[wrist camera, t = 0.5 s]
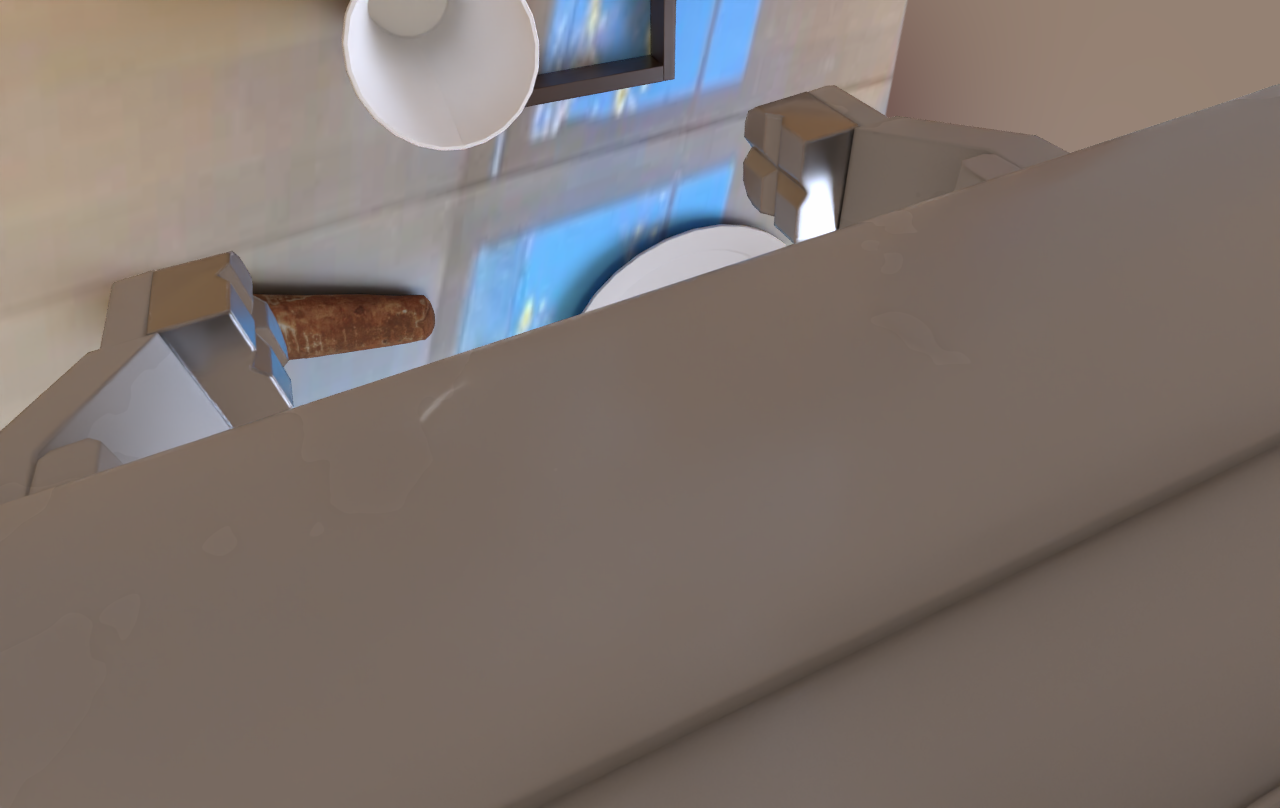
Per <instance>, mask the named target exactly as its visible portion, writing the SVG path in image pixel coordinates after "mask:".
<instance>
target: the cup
mask: <svg viewBox="0 0 1280 808" xmlns="http://www.w3.org/2000/svg"><path fill="white" fill-rule="evenodd" d="M342 48H343V54H344V61H345V67H346V72H347V74H348V76H349V79H350V81H351V83H352V86H353V88H354V90H355V93H356V95H357V97H358V98H359V100H360V101H361V102H362V104H363V105H364V106H365V108H366V109H367V110H368V112H369V113H370V114H371V116H372V117H373V118H374V119H375V120H376V121H377V122H379V123H380V124H381V125H382V126H384V127H385V128H386V129H387V130H388V131H390V132H391V133H392V134H393V135H395V136H397V137H399V138H401V139H403V140H406V141H408V142H410V143H412V144H414V145H416V146H420V147H425V148H430V149H435V150H440V151H441V150H460V149H466V148H469V147H473V146H476V145H479V144H482V143H485V142H487V141H489V140H490V139H492V138H493V137H495V136H496V135H498V134H500V133H501V132H503V131H504V130H506V129H507V127H508V126H509V125H510V124H511V123H512V122H513V121H514V120H515V119H516V118H517V117H518V116H519V115H520V114H521V112H522V110H523V108H524V107H525V105H526V103H527V101H528V99H529V97H530V96H531V94H532V92H533V88H534V84H535V80H536V77H537V73H538V69H539V39H538V35H537V30H536V26H535V21H534V17H533V14H532V12H531V10H530V8H529V6H528V4H527V2H526V0H350V2H349V4H348V7H347V9H346V12H345V16H344V25H343V34H342Z"/></svg>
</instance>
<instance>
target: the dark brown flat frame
mask: <svg viewBox="0 0 1280 808" xmlns="http://www.w3.org/2000/svg"><path fill="white" fill-rule="evenodd" d="M675 26H676V0H651V55H649V56H643V57H638V58H632V59H626V60H620V61H615V62H609V63H603V64H598V65H592V66H586V67H581V68H575V69H569V70H564V71H558V72H552V73H546V74H541V75H537V77H536V80H535V84H534V88H533V92H532V94H531V96H530V97H529V99H528V101H527V103H526V105H525V107H528V106H533V105H538V104H544V103H549V102H554V101H560V100H565V99H570V98H576V97H581V96H586V95H592V94H597V93H602V92H608V91H613V90H618V89H624V88H629V87H634V86H640V85H645V84H650V83H656V82H661V81H666V80H672V79H674V76H675Z"/></svg>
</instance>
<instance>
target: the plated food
mask: <svg viewBox="0 0 1280 808" xmlns="http://www.w3.org/2000/svg"><path fill="white" fill-rule="evenodd" d="M783 247H786V244H785V243H784V242H783V241H781V240H780V239H778V238H776V237H775V236H773V235H771V234H769V233H768V232H766V231H764V230H760V229H756V228H753V227H749V226H745V225H723V224H719V225H713V226H707V227H702V228H696V229H692V230H689V231H686V232H683V233H681V234H678V235H675V236H672V237H670V238H667V239H665V240H663V241H661V242H659V243H657V244H656V245H654V246H652V247H650V248H648V249H647V250H645V251H643V252H641V253H639V254H638V255H637V256H635V257H634V258H633V259H632V260H630V261H629V262H628V263H626V264H625V265H624V266H623V267H621V268H620V269H619V270H617V271H616V272H615V273H614V274H613V275H612V276H611V277H610V278H609V279H608V280H607V281H606V282H605V284H604V285H603V286H602V287H601V288H600V289H599V290H598V291H597V292H596V293H595V294H594V296H593V297H592V298H591V300H590V301H589V303H588V304H587V306H586V307H585V309H584V310H583V312H582V313H585V312H588V311H591V310H594V309H597V308H600V307H603V306H607V305H610V304H613V303H616V302H619V301H622V300H625V299H628V298H631V297H634V296H637V295H640V294H643V293H646V292H649V291H652V290H655V289H658V288H661V287H664V286H668V285H671V284H674V283H677V282H680V281H683V280H686V279H689V278H692V277H695V276H698V275H701V274H704V273H707V272H710V271H713V270H716V269H719V268H722V267H725V266H728V265H731V264H734V263H738V262H741V261H744V260H747V259H750V258H753V257H756V256H759V255H762V254H765V253H768V252H771V251H774V250H777V249H780V248H783ZM582 313H581V314H582Z"/></svg>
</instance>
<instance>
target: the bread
mask: <svg viewBox="0 0 1280 808" xmlns="http://www.w3.org/2000/svg"><path fill="white" fill-rule="evenodd" d="M253 295H254V296H256V297H258V298H260V299H262V300H264V301H266V302H267V304H268V306H269V307H270V309H271V311H272V313H273V314H274V316H275V318H276V320H277V322H278V325H279V327H280V329H281V331H282V334H283V337H284V340H285V344H286V347H287V352H288V359H289V360H293V359H301V358H312V357H319V356H325V355H332V354H339V353H346V352H353V351H359V350H366V349H372V348H380V347H386V346H393V345H399V344H405V343H410V342H415V341H419V340H425V339H426V338H427V337H429V336H430V334H431V333H432V331H433V329H434V326H435V314H434V310H433V308H432V305H431V303H430V301H429V300H428V299H427V298H426V297H425V296H424V295H403V296H389V295H367V294H356V295H350V294H346V295H338V294H336V295H265V294H253Z"/></svg>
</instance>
